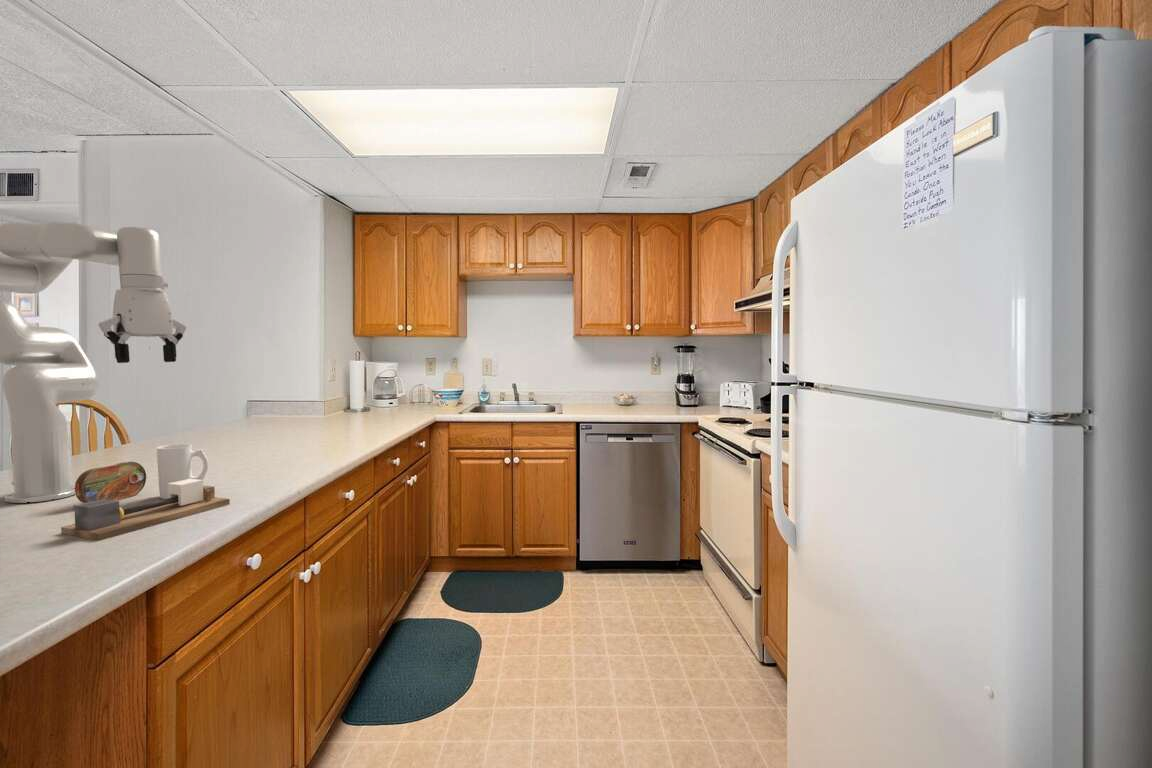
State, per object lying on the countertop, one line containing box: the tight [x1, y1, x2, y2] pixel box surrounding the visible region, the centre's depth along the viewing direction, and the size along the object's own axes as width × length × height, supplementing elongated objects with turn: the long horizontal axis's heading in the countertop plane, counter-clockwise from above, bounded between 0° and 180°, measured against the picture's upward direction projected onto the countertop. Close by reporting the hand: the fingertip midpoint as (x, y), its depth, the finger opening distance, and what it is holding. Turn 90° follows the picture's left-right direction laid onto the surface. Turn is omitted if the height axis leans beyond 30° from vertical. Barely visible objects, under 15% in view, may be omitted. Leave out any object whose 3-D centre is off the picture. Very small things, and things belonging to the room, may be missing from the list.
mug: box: [156, 443, 209, 500], centre depth 134 cm, size 10×7×12 cm, turn 118°
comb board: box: [60, 485, 231, 541], centre depth 116 cm, size 11×26×6 cm, turn 161°
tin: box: [74, 461, 147, 504], centre depth 129 cm, size 15×3×8 cm, turn 170°
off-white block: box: [168, 479, 204, 506], centre depth 122 cm, size 4×5×4 cm
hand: (147, 362), depth 124 cm, fingers open, 9 cm apart
